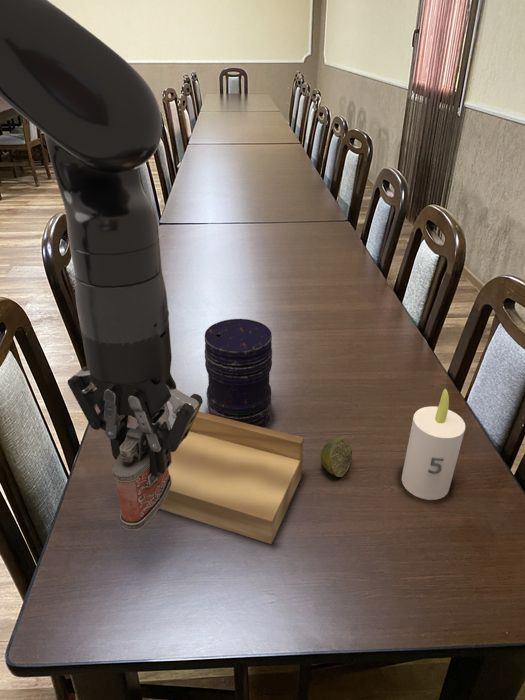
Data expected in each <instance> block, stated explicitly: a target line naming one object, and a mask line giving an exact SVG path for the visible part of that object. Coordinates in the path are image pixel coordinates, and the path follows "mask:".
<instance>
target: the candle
mask: <svg viewBox="0 0 525 700" xmlns="http://www.w3.org/2000/svg"><path fill="white" fill-rule="evenodd" d="M449 407H450V396H449V392H448V389H446V388H444V389H443V390H442V393H441V396H440V400H439V403H438V406H423V407H421V408H419V409H418V410H416V411H415V413H414V414H413V416H412V423H411V429H410V432H409V436H408V437H409V438H408V443H407V448H406V453H405V457H404V458H405V459H404V463H403V468H402V473H401V483H402V485H403V487H404V488H405V490H406V491H407V492H408V493H409V494H411V495H413V496H414V497H417V498H419V499H422V500H427V501H437V500H440V499H443V498H444V497H446V496H447V495H448V494H449V491H450V488H451V485H452V480H453V476H454V473H455V470H456V465H457V462H458V458H459V453H460V450H461V446H462V443H463V440H464V435H465V432H466V423H465V421H464V419H463V418H462V417H461V416H460V415H459V414H457V413H456V412H455V411H453V410H450V409H449Z"/></svg>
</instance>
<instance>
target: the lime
mask: <svg viewBox="0 0 525 700" xmlns="http://www.w3.org/2000/svg"><path fill="white" fill-rule="evenodd" d="M319 457H320V462H321V464H322V466H323V467H324V469H325V471H327V473H329V474H331V475H332V476H335V477H337V478H342V477H344V475H345V474H346V473H347V472H348V470H349V469H350V466H351V462H352V459H353V450H352V446H351V443H350V442H349V441H348V440H345V439H343V438H341V437H340V438H339V437H336V438H333V439H331V440H328V441H327V442H326V443H325V444H324V445H323V447H322V449H321V451H320V456H319Z"/></svg>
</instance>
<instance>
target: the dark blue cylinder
mask: <svg viewBox="0 0 525 700" xmlns="http://www.w3.org/2000/svg"><path fill="white" fill-rule="evenodd" d="M272 341H273V333H272V330H271V329H270V328H269V327H268V326H267V325H265V324H264V323H263V322H260V321H257V320H253V319H248V318H229V319H225V320H220V321H217V322H215V323H214V324H211V325H210V326H209V327H208V328H207V329H206V330H205V332H204V359H205V361H204V365H205V371H206V373H207V377H208V379H207V381H208V384H207V388H206V398H207V399H206V403H207V405H206V406H207V409H208V414H211V415H215V416H219V417H223V418H227V419H231V420H235V421H239V422H243V423H247V424H251V425H255V426H259V427H263V428H267V426H268V425H269V423H270V420H271V408H272V394H273V393H272V387H271V385H270V372H271V370H272V366H273V360H272V359H273V347H272V346H273V345H272V344H273V343H272Z"/></svg>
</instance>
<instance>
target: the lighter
mask: <svg viewBox="0 0 525 700" xmlns="http://www.w3.org/2000/svg"><path fill="white" fill-rule="evenodd" d="M129 428H130V429H129V431H128V432H127V435H126V439H125V441H124V442H123V444H122V445H121V446H120V454H119V456H118V457H117V459H115V462H114V463H113V465H112V468H111V470H112V475H113V478H114V479H115V482H116V488H117V489H116V490H117V494H118V495H117V496H118V501H119V507H120V515H119V519H120V525H121V526H122V527H123V528H124V529H126V530H129V531H137V530H140V529H142V528H143V527H144V526H146V524H147V523H148V522H150V520H151V519H152V518H153V517H154V516H155V515H156V514H157V512H158V511H159V510H160V509H159V508H160V507H161V505H162V503H163V502H164V500H165V498H166V496H167V494H168V492H169V489H170V487H171V476H170V474H169V469H167V470H166V471H165V473H164V474H161V476H160V477H159V478H158V477H154V476H152V475H151V468H150V460H149V451H148V450H149V449H150V446H149V443H148V440H147V437H146V435H145V433H141V431H140V428H139V425H138V424H137V426H136V427H135V428H133V427H129ZM158 433H159V430H158Z"/></svg>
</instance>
